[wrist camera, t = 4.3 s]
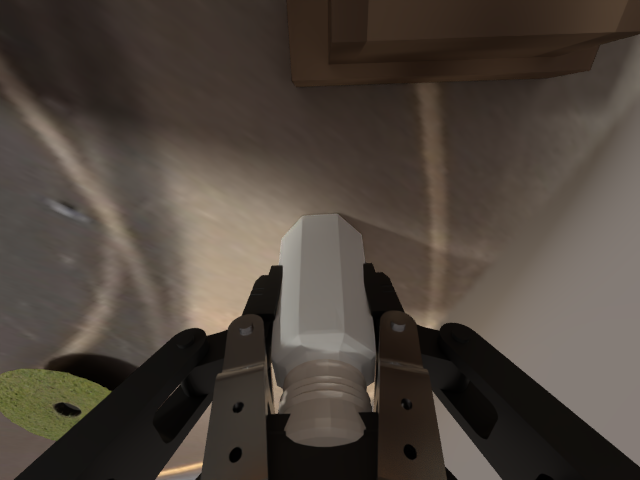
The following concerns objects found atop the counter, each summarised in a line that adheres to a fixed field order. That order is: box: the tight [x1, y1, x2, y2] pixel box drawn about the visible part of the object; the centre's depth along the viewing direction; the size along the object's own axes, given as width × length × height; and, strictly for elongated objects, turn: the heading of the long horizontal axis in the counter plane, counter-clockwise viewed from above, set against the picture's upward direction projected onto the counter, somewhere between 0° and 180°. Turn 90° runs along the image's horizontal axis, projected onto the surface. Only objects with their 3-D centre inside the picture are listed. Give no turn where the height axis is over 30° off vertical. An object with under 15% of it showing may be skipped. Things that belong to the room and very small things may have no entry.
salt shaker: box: [271, 214, 376, 447], centre depth 11 cm, size 5×5×11 cm
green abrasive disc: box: [0, 369, 112, 441], centre depth 21 cm, size 11×11×2 cm
